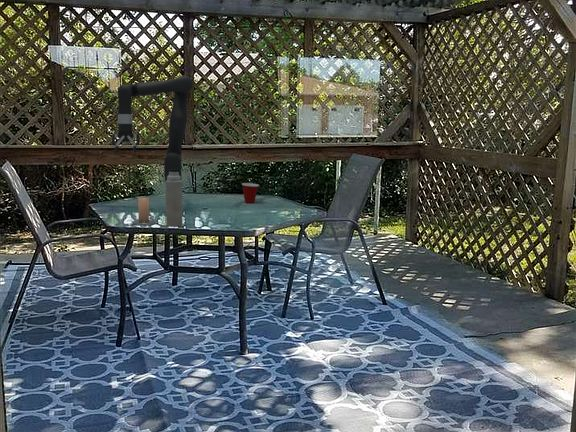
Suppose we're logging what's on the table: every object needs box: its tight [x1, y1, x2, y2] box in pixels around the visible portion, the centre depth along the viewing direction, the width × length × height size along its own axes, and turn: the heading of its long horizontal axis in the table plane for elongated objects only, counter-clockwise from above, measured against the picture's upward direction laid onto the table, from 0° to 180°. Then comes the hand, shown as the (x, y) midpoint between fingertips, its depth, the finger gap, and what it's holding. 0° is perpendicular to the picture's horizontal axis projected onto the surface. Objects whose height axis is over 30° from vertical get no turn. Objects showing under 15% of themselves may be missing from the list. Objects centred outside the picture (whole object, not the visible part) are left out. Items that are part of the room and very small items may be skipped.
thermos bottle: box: [165, 169, 183, 228], centre depth 307 cm, size 8×8×28 cm
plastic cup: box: [241, 182, 260, 205], centre depth 383 cm, size 11×11×12 cm
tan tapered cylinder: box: [137, 197, 150, 223], centre depth 313 cm, size 5×5×12 cm
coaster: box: [131, 219, 157, 226], centre depth 314 cm, size 12×12×1 cm
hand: (126, 153), depth 332 cm, fingers open, 8 cm apart
